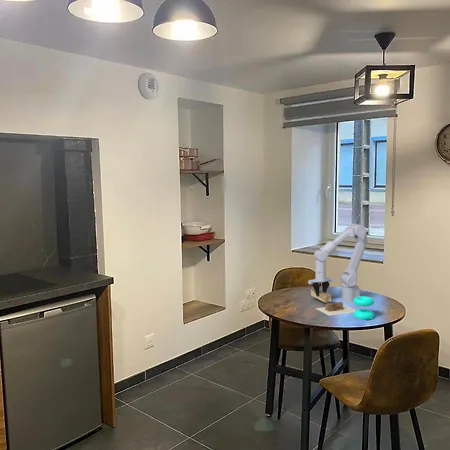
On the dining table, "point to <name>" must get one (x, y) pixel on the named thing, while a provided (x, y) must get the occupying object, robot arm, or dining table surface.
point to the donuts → (363, 302)
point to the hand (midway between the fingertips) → (320, 295)
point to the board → (346, 310)
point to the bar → (321, 296)
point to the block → (334, 306)
